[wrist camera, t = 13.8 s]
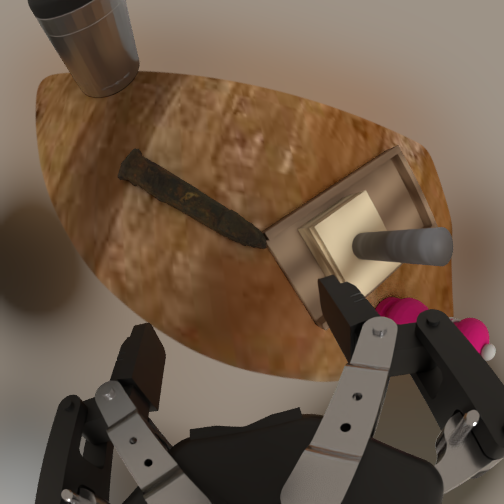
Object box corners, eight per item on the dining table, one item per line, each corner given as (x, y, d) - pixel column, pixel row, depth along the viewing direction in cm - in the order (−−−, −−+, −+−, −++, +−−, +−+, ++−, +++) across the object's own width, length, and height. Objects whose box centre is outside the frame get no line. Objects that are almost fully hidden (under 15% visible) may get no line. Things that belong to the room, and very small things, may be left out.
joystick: (295, 230, 33) (382, 217, 17) (344, 196, 35) (441, 167, 18) (335, 297, 35) (430, 331, 18) (379, 260, 36) (478, 269, 19)
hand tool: (121, 180, 31) (110, 171, 26) (140, 153, 31) (132, 141, 26) (249, 266, 34) (257, 270, 29) (267, 238, 34) (277, 238, 30)
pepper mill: (362, 337, 37) (466, 389, 17) (376, 289, 37) (491, 315, 18) (396, 342, 38) (494, 384, 19) (409, 298, 39) (514, 322, 19)
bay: (258, 233, 34) (264, 232, 31) (386, 150, 37) (397, 145, 34) (315, 324, 36) (325, 330, 33) (425, 228, 39) (438, 227, 36)
